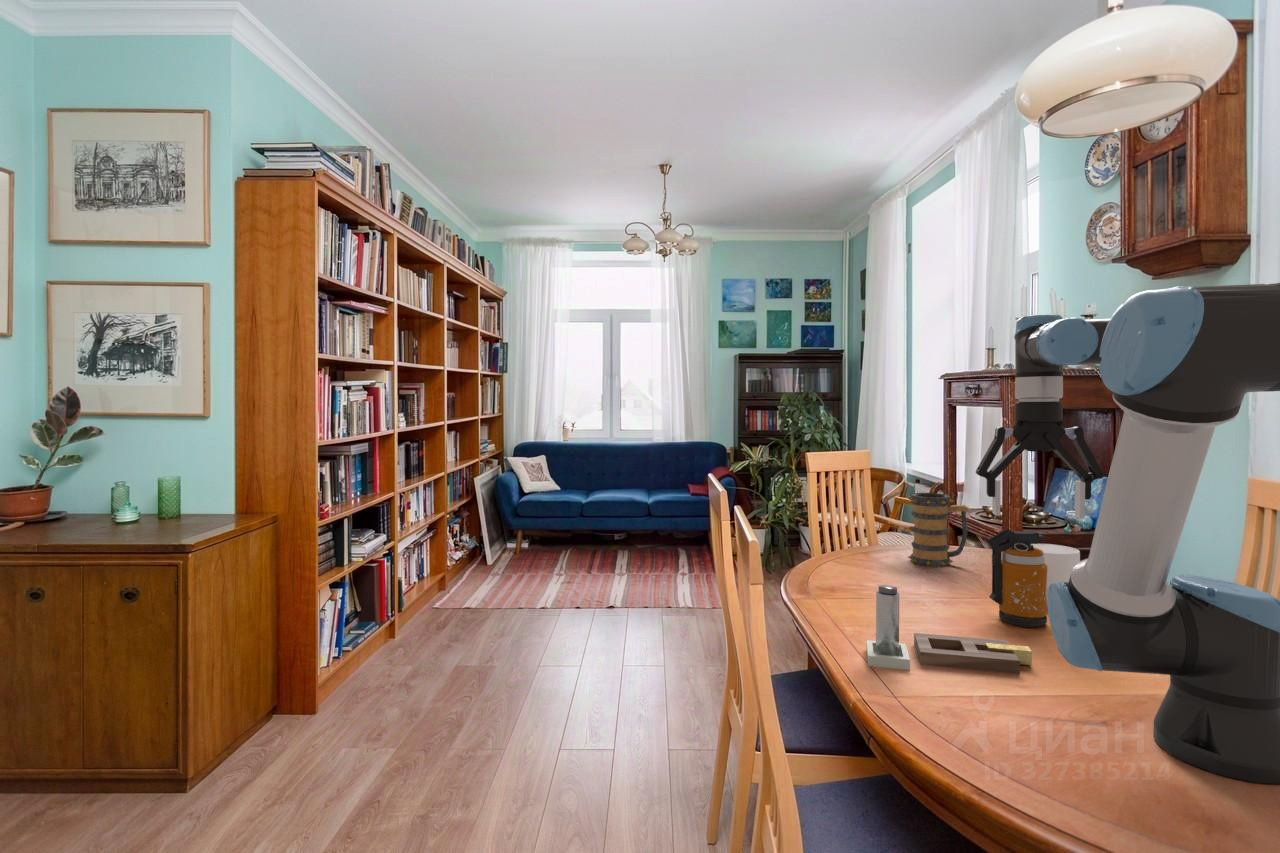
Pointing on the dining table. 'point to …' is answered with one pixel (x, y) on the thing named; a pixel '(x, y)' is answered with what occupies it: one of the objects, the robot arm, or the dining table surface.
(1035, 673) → the dining table surface
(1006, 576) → the canister
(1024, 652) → the bar
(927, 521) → the mug
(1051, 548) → the cup
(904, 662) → the pale grey square tray
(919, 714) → the dining table surface
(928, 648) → the socket block
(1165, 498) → the robot arm
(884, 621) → the metal round-nosed cylinder
